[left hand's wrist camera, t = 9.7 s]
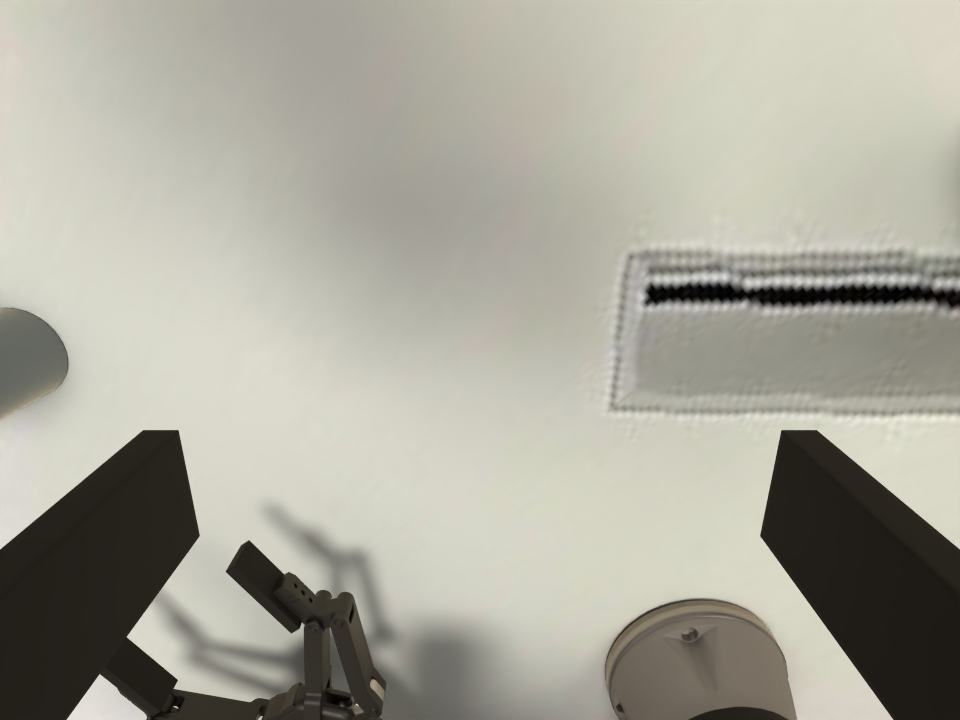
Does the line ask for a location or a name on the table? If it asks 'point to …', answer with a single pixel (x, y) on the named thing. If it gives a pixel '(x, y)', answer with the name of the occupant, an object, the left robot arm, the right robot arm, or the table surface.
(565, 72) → the table surface
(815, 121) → the table surface
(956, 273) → the table surface
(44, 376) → the bottle
